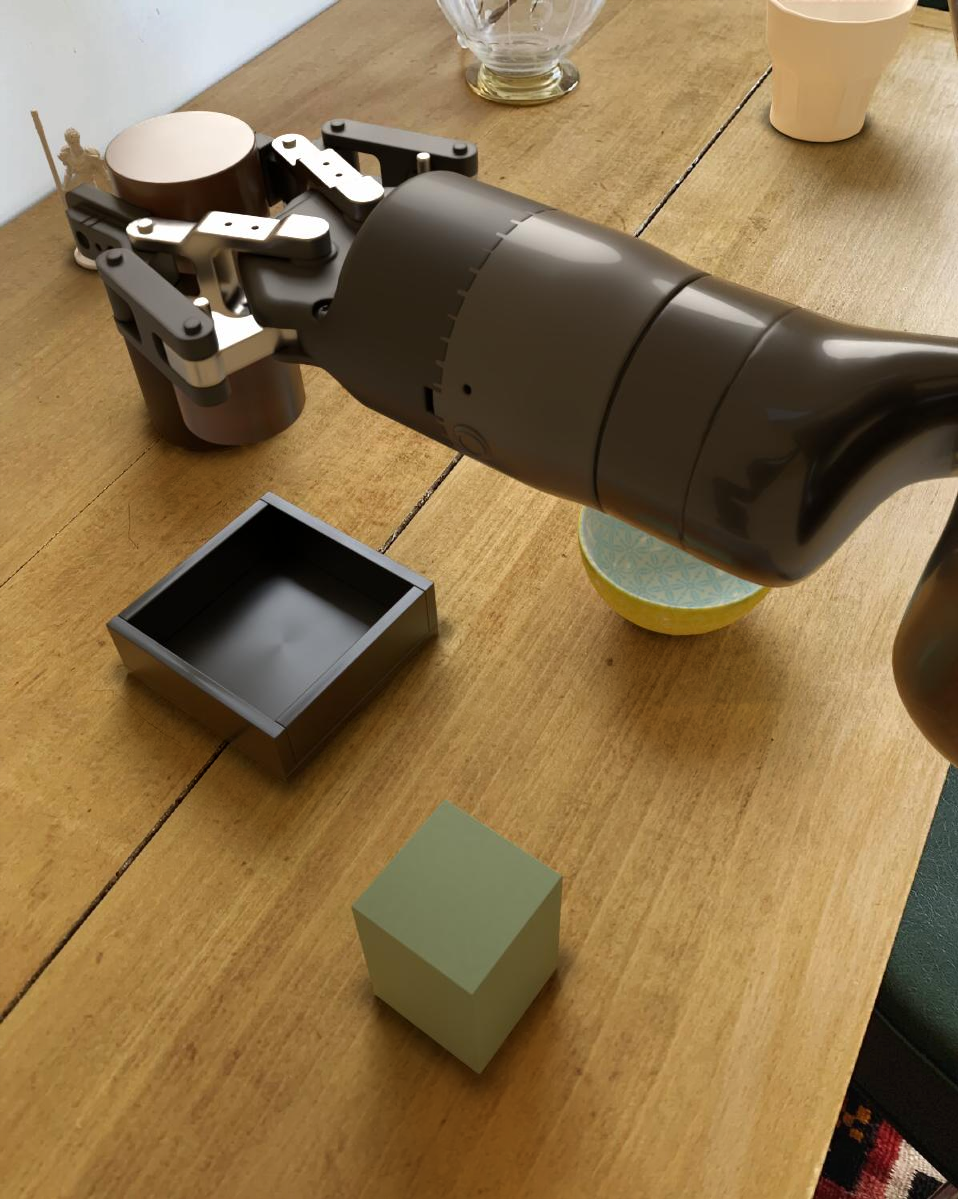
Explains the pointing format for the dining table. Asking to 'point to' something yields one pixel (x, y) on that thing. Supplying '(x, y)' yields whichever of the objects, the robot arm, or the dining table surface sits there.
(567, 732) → the dining table surface
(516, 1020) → the pale green block
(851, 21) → the cup
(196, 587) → the open box
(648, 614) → the bowl
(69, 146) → the figurine
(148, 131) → the tall brown cylinder
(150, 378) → the mug
